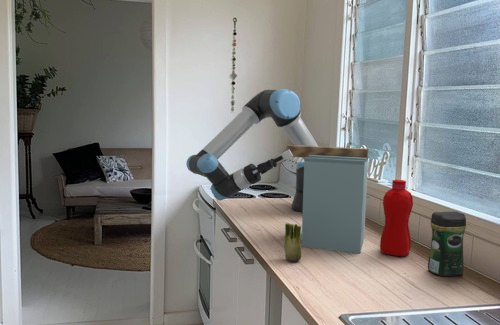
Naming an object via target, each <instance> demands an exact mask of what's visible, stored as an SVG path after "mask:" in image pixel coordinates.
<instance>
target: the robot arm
mask: <svg viewBox="0 0 500 325" xmlns="http://www.w3.org/2000/svg"><path fill="white" fill-rule="evenodd" d="M300 105H301V100H300V98H299V96H298V95H297V94H296V93H295V92H294V91H292V90H290V89H286V88H278V89H264V90H262V91H260V92H258V93H257V94H255V95H254V96H253V97H251V99H249V101H248V102H246V103H245V104H244V106H242V108H241V112H240V113H239V114H237V115H236V116H235V117H234V118H233V119H232V120H231V121H230V122H229V123H228V124H227V125H226V126H224V128H223V129H222V130H221V131H220V132H219V133H217V135H215V136H214V137H213V139H211V140H210V141H209V142H208V143H207V144H206V145H205V146H204V147H203V148H202V149H201V150H200V151H199V152H198V153H196V154H192V155H190V156H189V157H188V158H187V159H186V163H185V164H186V168H187V169H188V171H189V172H191V173H193V174H194V175H200V176H201V177H205V178H206V179H207V180H208V181H209V182H210V183H211V186H210V191H211V193H212V195H213V197H214V198H215V199H216V200H218V201H223V200H225V199H228V198H231V197H232V196H233V195H236V194H237V193H239V192H241V191H243V190H248V187H251V186H252V185H255V184H257V183H259V182H260V181H261V179H262V176H261V175H263V174H266V173H268V171H270V170H272V169H273V168H277V167H278V165H280V164H281V163H283V162H286V161H288V160H289V159H291V158H293V157H292V156H293V155H292V153H291V151H290V149H289V150H287V149H286V150H285V151H284V152H281V153H279V154H278V155H275V156H274V157H273V158H270V159H268V160H266V161H264V162H261V163H258V164H257V165H255V164H254V163H249V164H247V165H246V166H244V167H241V168H240V169H238V170H236V171H234V172H233V173H231V174H229V173H228V171H227V169H225V167H224V166H223V165H222V163H221V162H220V161H219V159H220V158H221V157H223V155H224V154H225V153H226V152H227V151H228V150H229V149H230V148H231V147H232V146H233V145H234V144H236V142H237V141H238V140H239V139H240V138H241V137H242V136H243V135H245V134H246V133H247V132H248V130H250V129H251V128H252V127H253V126H254V125H258V124H259V123H260V122H261V121H263V120H265V119H267V118H269V119H270V118H271V119H272V121H273V122H274V123H275V126H277V127H278V128H282V129H283V131H284V132H285V134H286V135H287V137H288V138H289V140H290V141H291V143H292V145H300V146H319V145H318V143H317V142H316V140H315V138H314V137H313V135H312V133H311V132H310V130H309V128H307V127H308V126H307V125H306V123H305V122H304V120H303V119H302V118H301V115H302V110H301V106H300ZM301 158H302V160H303V161H298V162H297V164H296V169H295V170H296V173H295V174H296V175H295V176H296V178H295V194H294V197H293V199H292V202H291V210H292V211H296V212H299V213H301V212H302V213H303V187H304V158H303V157H301Z"/></svg>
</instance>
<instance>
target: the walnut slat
mask: <svg viewBox="0 0 500 325" xmlns="http://www.w3.org/2000/svg"><path fill="white" fill-rule="evenodd" d="M289 149H290V151H291V153H292V155H293V156H292V157H291V158H302V157H303V158H305V157H306V158H309V155H321V156H340V157H359V158H367V160H368V161H369V148H361V147H360V148H359V147H358V148H357V147H356V148H355V147H341V146H337V147H336V146H319V145H318V146H300V145H294V144H287V145H286V151H287V150H289ZM303 158H302V159H303Z"/></svg>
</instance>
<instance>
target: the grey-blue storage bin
mask: <svg viewBox="0 0 500 325" xmlns="http://www.w3.org/2000/svg"><path fill="white" fill-rule="evenodd" d="M303 162H304V187H303V212H302V215H301V216H302V219H301V220H302V223H301V248H310V249H320V250H327V251H337V252H345V253H352V254H353V253H356V254H361V251H362V247H363V244H364V241H365V231H366V230H365V229H366V228H365V227H366V212H367V211H366V207H367V192H368V172H369V169H368V168H369V159H368V160H367V158H359V157H340V156H321V155H309V158H306V157H305V158H304V160H303Z"/></svg>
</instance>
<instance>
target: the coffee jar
mask: <svg viewBox="0 0 500 325" xmlns="http://www.w3.org/2000/svg"><path fill="white" fill-rule="evenodd" d="M430 217H431V218H430V228H431V242H430V250H429V256H428V261H427V269H428V270H429V272H430V273H432V274H433V275H439V276H440V277H452V276H453V277H454V276H461V275H462V274H463V273H464V266H465V265H464V235H465V231H466V229H467V218H466V215H465V214H464V213H462V212H459V211H436V212H435V211H433V213H432V214H431V216H430Z"/></svg>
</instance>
